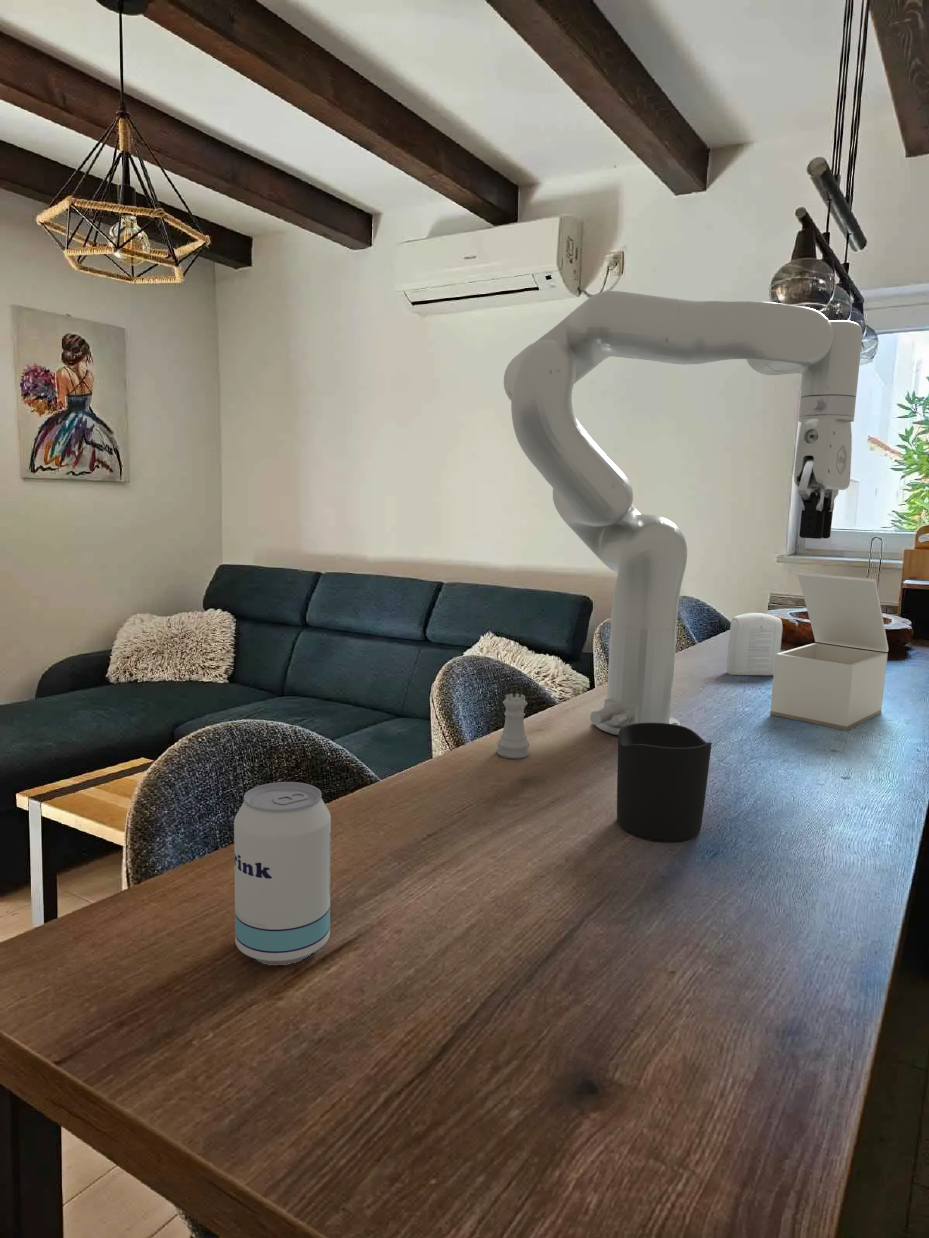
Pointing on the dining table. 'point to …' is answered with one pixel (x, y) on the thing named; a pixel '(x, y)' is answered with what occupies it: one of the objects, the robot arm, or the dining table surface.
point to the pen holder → (661, 781)
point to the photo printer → (753, 644)
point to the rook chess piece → (514, 729)
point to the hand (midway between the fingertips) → (814, 537)
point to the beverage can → (282, 872)
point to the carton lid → (844, 611)
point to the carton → (828, 685)
